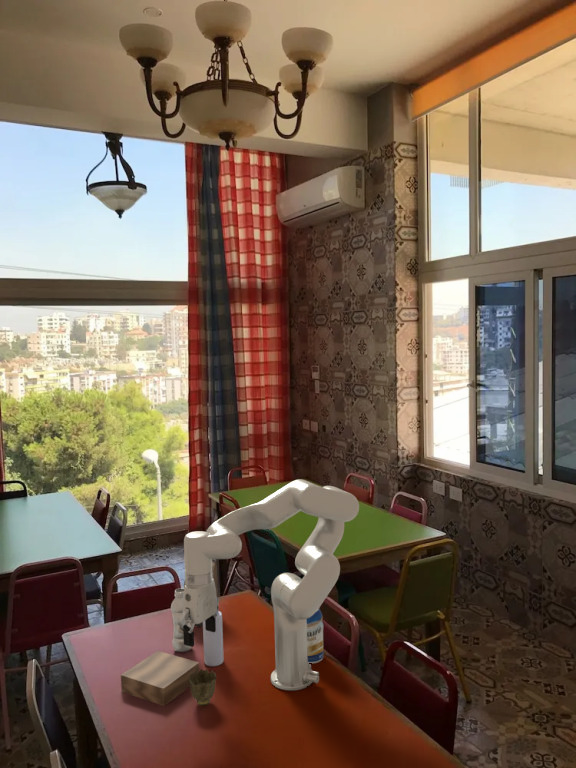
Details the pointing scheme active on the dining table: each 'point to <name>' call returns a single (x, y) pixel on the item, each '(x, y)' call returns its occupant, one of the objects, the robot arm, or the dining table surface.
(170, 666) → the walnut plinth
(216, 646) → the spray bottle
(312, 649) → the beverage bottle
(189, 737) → the dining table surface
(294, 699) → the dining table surface
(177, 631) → the plastic bottle
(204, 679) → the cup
